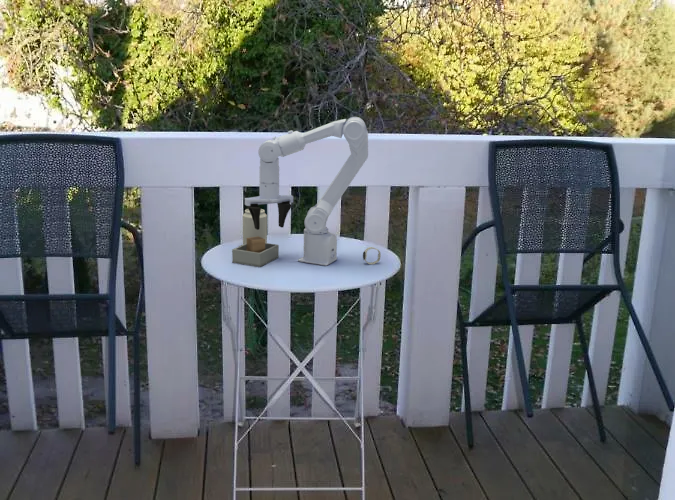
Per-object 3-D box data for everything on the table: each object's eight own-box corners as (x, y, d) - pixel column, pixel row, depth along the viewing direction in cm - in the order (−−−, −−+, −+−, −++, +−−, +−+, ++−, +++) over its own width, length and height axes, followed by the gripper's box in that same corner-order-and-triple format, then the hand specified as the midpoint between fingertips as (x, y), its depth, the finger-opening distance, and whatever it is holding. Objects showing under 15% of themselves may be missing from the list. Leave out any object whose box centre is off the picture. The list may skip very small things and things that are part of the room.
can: (263, 251, 225) (263, 213, 222) (239, 249, 226) (239, 211, 223) (269, 245, 232) (269, 208, 229) (246, 243, 233) (246, 206, 230)
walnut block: (265, 258, 214) (265, 239, 213) (253, 260, 212) (253, 240, 211) (258, 255, 218) (258, 236, 216) (246, 257, 215) (246, 237, 214)
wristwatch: (362, 262, 216) (362, 246, 215) (378, 262, 217) (379, 246, 216) (364, 265, 213) (365, 249, 212) (381, 264, 214) (381, 248, 213)
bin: (278, 257, 218) (278, 244, 217) (260, 267, 208) (260, 253, 207) (251, 253, 222) (251, 240, 221) (232, 262, 212) (232, 249, 211)
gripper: (250, 186, 204) (250, 233, 208) (297, 183, 211) (297, 228, 215) (242, 181, 210) (242, 227, 214) (288, 179, 217) (287, 223, 221)
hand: (269, 227), depth 215 cm, fingers open, 7 cm apart
